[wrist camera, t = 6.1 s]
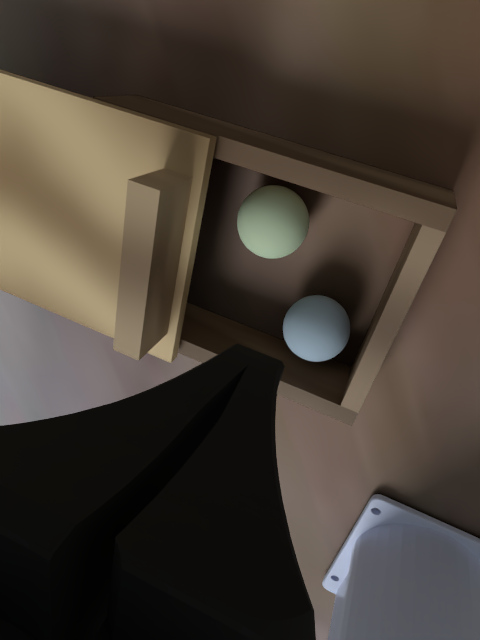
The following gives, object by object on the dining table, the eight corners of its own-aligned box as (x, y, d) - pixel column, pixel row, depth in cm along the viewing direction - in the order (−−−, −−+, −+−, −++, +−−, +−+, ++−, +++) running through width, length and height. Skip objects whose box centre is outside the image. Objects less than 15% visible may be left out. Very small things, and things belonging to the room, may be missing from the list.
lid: (176, 356, 21) (143, 392, 19) (-56, 257, 24) (-112, 277, 22) (216, 136, 16) (177, 146, 14) (-86, 42, 19) (-164, 36, 16)
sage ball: (304, 255, 21) (287, 278, 18) (244, 234, 21) (219, 253, 19) (324, 191, 19) (309, 207, 17) (259, 170, 20) (235, 183, 17)
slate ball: (342, 350, 22) (331, 384, 20) (285, 328, 23) (267, 358, 20) (364, 298, 21) (355, 328, 18) (302, 276, 21) (285, 301, 19)
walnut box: (361, 385, 23) (351, 426, 20) (120, 288, 25) (83, 312, 23) (452, 190, 17) (456, 209, 15) (137, 95, 20) (92, 96, 17)
